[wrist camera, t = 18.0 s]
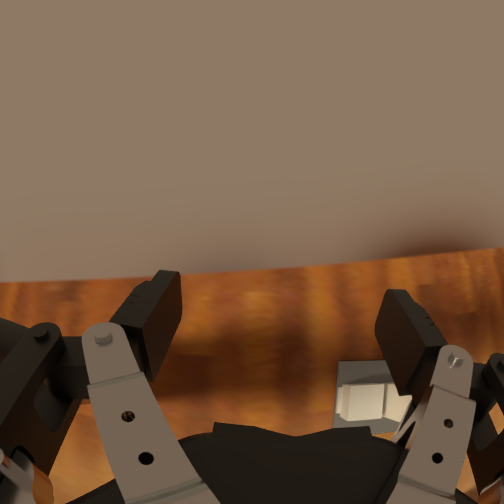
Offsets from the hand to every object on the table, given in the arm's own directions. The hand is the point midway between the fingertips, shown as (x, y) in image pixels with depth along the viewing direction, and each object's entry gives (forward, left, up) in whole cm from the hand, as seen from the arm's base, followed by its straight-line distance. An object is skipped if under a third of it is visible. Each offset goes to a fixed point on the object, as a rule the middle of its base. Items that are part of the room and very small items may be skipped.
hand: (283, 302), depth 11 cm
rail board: (+7, -20, -33) cm, 39 cm away
